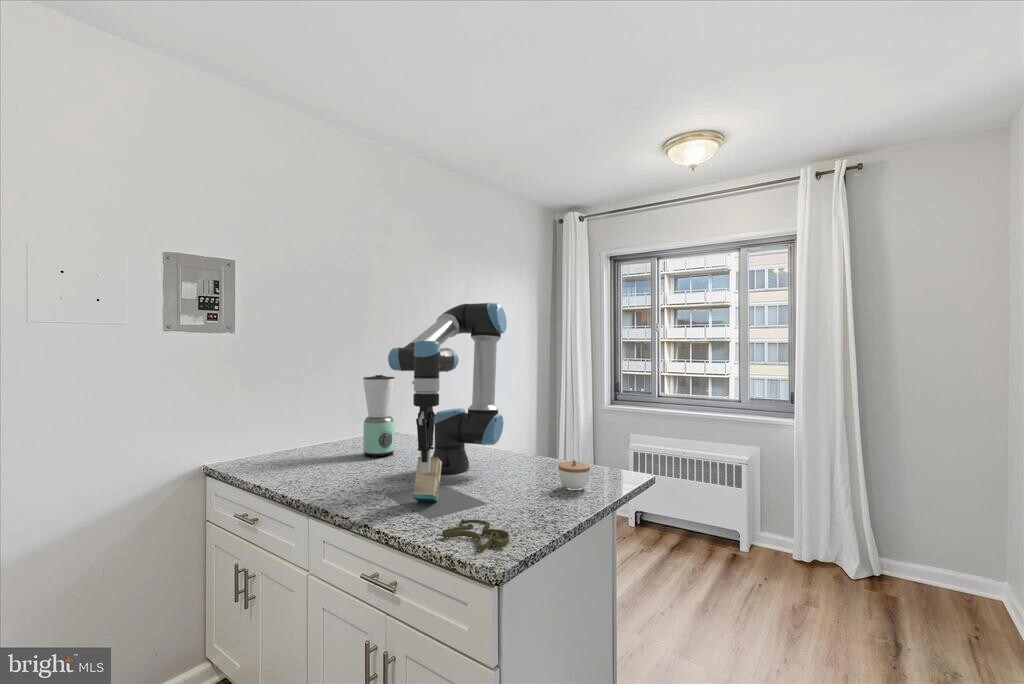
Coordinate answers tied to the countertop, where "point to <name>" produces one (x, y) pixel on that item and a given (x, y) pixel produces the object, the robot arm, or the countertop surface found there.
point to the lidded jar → (574, 474)
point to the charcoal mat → (446, 502)
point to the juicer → (378, 416)
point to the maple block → (428, 482)
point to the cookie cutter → (492, 532)
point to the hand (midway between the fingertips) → (425, 472)
